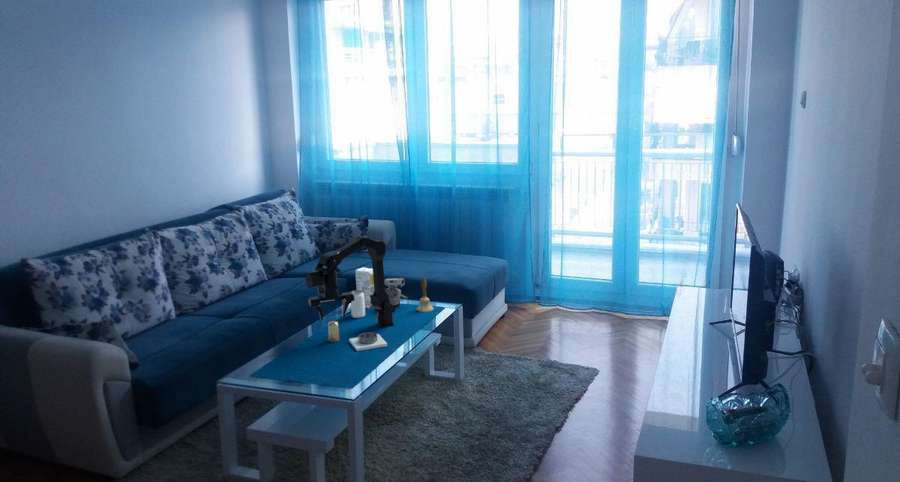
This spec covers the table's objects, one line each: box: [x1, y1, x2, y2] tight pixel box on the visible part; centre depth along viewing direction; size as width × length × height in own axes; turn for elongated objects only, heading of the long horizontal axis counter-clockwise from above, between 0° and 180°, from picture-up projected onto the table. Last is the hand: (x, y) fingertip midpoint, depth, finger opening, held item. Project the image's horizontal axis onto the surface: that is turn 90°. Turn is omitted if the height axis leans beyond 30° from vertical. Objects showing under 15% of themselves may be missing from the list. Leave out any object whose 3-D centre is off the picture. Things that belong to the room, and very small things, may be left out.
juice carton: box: [355, 266, 374, 309], centre depth 343 cm, size 8×9×19 cm
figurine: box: [384, 277, 410, 307], centre depth 339 cm, size 9×12×15 cm
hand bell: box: [416, 277, 434, 313], centre depth 335 cm, size 8×8×16 cm
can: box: [350, 289, 366, 319], centre depth 328 cm, size 6×6×12 cm
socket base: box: [348, 333, 388, 352], centre depth 292 cm, size 13×13×1 cm
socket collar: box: [357, 331, 378, 344], centre depth 291 cm, size 8×8×2 cm
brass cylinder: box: [327, 320, 340, 343], centre depth 297 cm, size 4×4×8 cm
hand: (332, 318), depth 296 cm, fingers open, 9 cm apart
